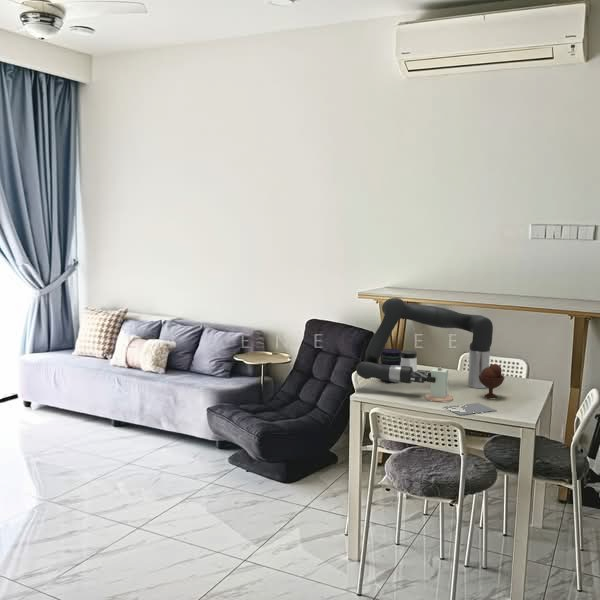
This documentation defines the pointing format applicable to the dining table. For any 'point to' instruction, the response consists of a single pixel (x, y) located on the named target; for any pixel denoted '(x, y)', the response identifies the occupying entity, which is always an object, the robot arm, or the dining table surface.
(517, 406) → the dining table surface
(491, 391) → the ice cream bowl
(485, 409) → the mat
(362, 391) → the dining table surface
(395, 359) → the storage jar
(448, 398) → the saucer
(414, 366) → the jar
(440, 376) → the tall green carton
